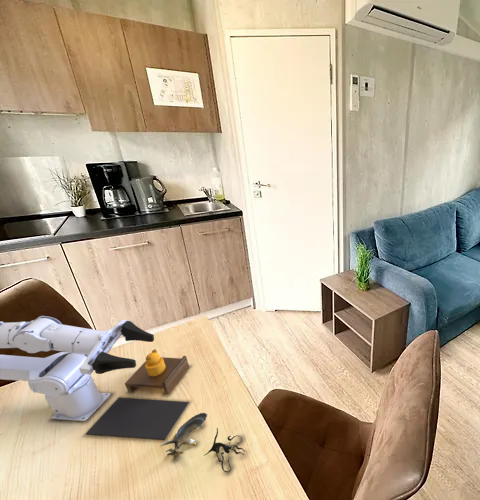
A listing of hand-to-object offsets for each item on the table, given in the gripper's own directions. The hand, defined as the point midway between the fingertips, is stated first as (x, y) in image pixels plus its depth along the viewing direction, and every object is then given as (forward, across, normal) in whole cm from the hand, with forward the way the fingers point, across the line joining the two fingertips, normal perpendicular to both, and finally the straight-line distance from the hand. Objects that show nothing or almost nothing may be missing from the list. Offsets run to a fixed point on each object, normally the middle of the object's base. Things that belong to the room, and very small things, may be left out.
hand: (144, 350), depth 70 cm
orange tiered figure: (-1, +6, +17) cm, 18 cm away
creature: (+26, -16, +9) cm, 32 cm away
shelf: (0, +5, +20) cm, 21 cm away
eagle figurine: (+16, -13, +13) cm, 25 cm away
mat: (+2, -7, +18) cm, 19 cm away
